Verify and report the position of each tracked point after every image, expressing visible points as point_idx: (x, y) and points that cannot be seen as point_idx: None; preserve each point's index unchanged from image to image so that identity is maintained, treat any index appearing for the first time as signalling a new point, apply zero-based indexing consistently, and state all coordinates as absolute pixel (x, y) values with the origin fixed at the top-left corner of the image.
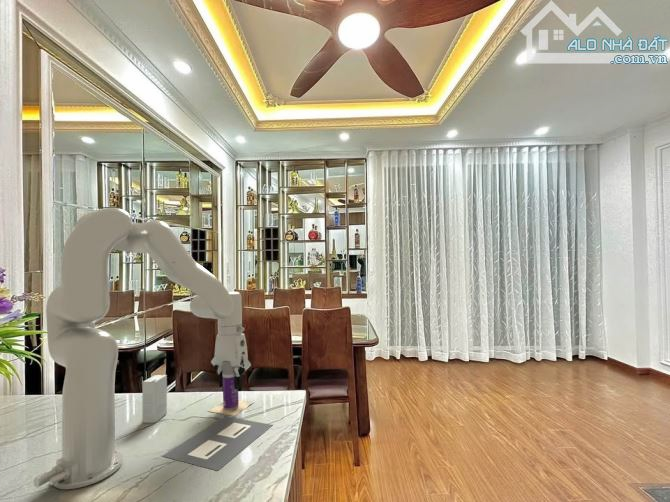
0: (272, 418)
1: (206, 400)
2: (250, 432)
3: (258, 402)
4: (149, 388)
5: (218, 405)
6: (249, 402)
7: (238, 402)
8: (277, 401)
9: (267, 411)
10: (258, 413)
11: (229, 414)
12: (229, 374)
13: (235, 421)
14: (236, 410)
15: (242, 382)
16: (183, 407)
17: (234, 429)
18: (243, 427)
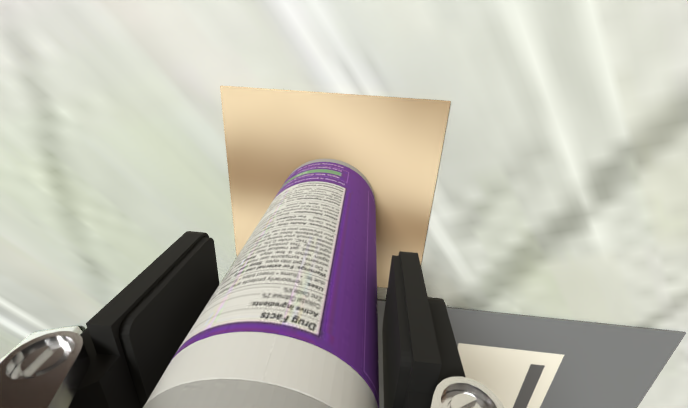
0: (667, 273)
1: (93, 147)
2: (581, 395)
3: (483, 80)
4: None
5: (236, 202)
6: (414, 108)
7: (370, 193)
8: (656, 13)
9: (608, 201)
10: (552, 236)
11: (383, 283)
12: None
13: (459, 333)
14: (393, 236)
15: (446, 317)
16: (74, 256)
17: (493, 386)
18: (530, 371)
